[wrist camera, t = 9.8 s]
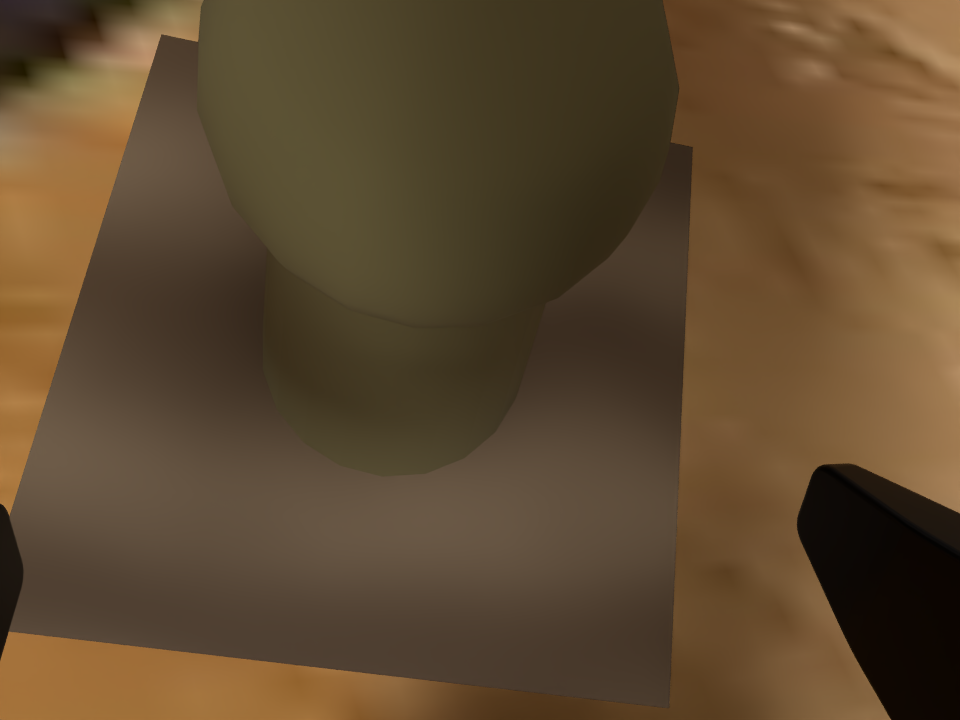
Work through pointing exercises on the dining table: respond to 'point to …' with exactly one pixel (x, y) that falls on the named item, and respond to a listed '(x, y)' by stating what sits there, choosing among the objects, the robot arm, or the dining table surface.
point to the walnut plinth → (344, 491)
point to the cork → (426, 195)
